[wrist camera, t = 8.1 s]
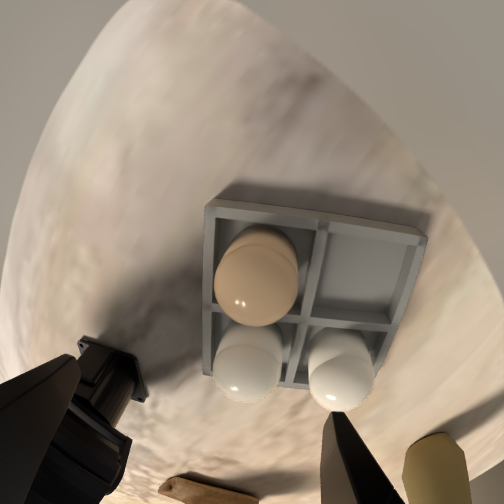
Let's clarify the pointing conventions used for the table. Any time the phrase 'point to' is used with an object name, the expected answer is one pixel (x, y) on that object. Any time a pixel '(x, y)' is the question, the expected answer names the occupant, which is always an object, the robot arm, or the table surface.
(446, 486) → the squeeze bottle
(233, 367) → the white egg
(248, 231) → the brown egg
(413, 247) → the egg carton
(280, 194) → the table surface
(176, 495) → the stone cup
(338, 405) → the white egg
